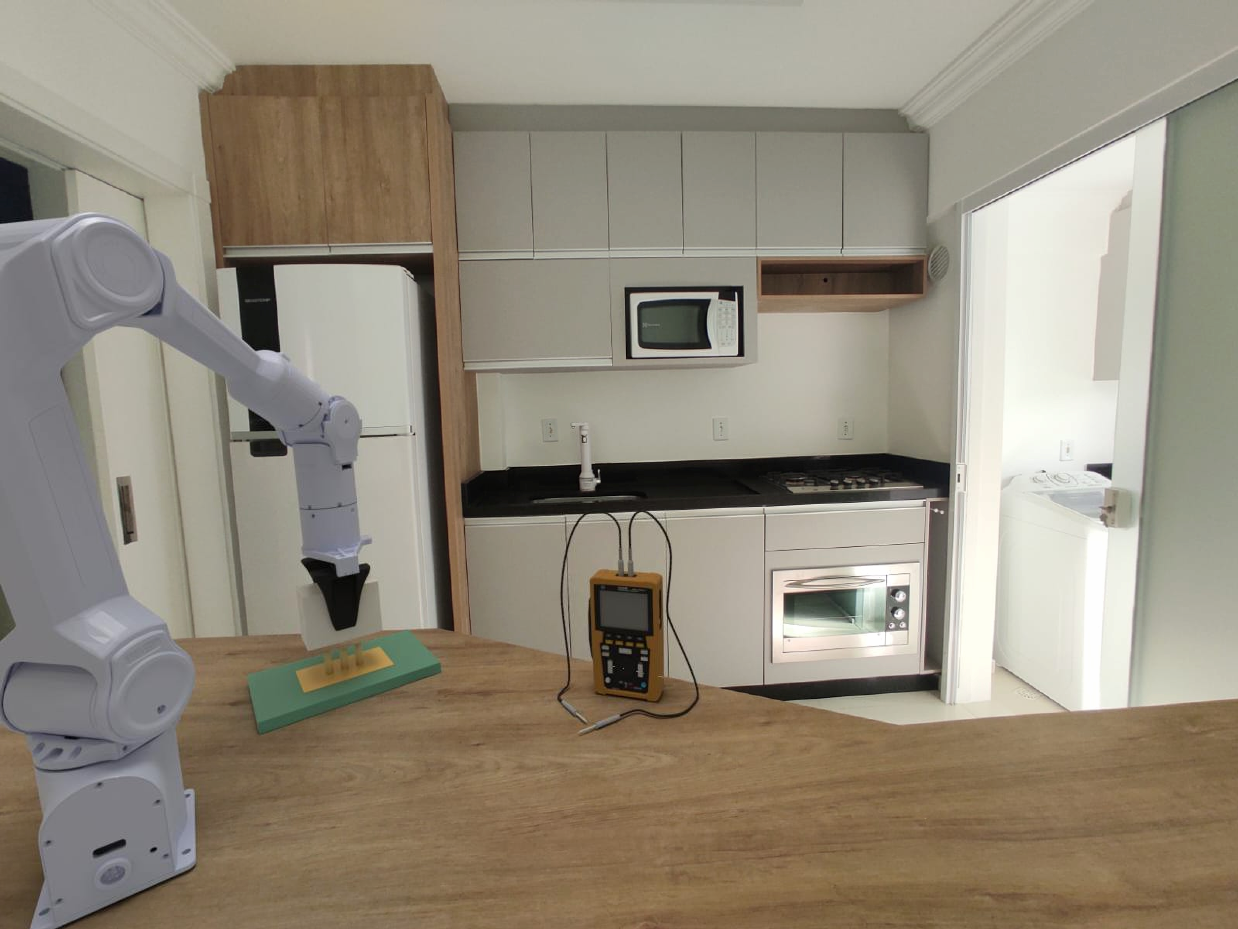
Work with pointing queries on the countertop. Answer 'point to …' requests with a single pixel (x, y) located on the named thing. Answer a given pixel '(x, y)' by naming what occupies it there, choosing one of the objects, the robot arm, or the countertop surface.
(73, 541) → the robot arm
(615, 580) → the multimeter
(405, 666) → the header board
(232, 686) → the countertop surface
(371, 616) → the block
